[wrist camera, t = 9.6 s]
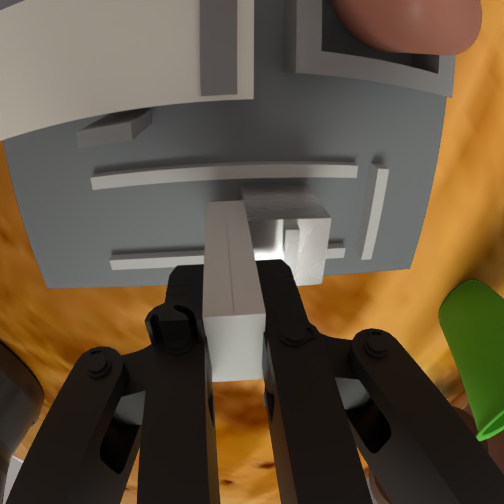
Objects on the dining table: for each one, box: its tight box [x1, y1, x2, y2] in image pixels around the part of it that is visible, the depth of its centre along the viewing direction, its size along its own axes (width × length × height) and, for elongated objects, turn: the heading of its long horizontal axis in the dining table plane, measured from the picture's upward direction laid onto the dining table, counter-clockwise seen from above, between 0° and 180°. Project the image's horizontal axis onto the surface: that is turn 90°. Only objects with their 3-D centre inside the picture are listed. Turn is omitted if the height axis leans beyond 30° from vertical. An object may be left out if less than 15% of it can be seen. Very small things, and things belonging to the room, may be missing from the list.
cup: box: [439, 280, 504, 441], centre depth 18 cm, size 9×9×11 cm
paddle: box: [0, 0, 254, 141], centre depth 8 cm, size 10×5×1 cm, turn 90°
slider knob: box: [241, 183, 331, 286], centre depth 13 cm, size 3×3×4 cm
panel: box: [0, 0, 455, 289], centre depth 11 cm, size 22×18×4 cm
